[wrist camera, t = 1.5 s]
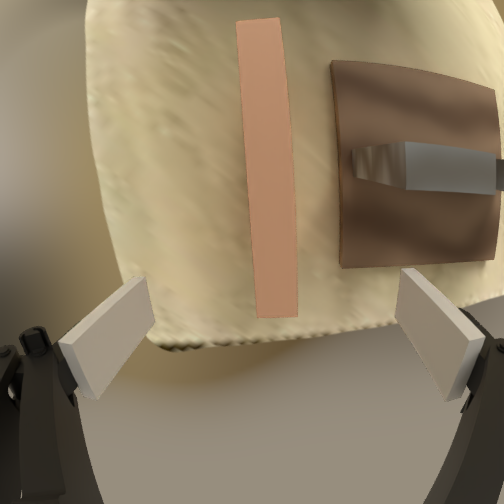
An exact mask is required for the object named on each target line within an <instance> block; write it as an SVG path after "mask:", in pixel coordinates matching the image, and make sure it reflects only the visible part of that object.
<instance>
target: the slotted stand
mask: <svg viewBox="0 0 504 504" xmlns="http://www.w3.org/2000/svg"><path fill="white" fill-rule="evenodd" d="M330 69H331V77H332V85H333V95H334V104H335V115H336V127H337V142H338V159H339V185H340V260H339V264H340V265H341V267H342V269H343V268H366V267H386V266H405V265H423V264H439V263H455V262H470V261H484V260H494V257H495V251H496V244H497V237H498V228H499V218H500V205H501V191H504V160H503V159H501V141H500V128H499V118H498V110H497V103H496V96H495V90H493V89H490V88H487V87H484V86H481V85H478V84H475V83H472V82H468V81H465V80H461V79H457V78H454V77H450V76H446V75H441V74H437V73H433V72H428V71H423V70H418V69H412V68H406V67H400V66H393V65H386V64H378V63H368V62H357V61H341V60H332V62H331V64H330Z"/></svg>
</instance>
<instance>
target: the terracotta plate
mask: <svg viewBox="0 0 504 504" xmlns="http://www.w3.org/2000/svg"><path fill="white" fill-rule="evenodd" d="M236 33H237V47H238V61H239V75H240V89H241V102H242V116H243V130H244V144H245V158H246V171H247V185H248V199H249V213H250V227H251V241H252V255H253V268H254V282H255V296H256V310H257V318H276V317H298V287H297V236H296V208H295V186H294V167H293V151H292V136H291V123H290V110H289V99H288V88H287V77H286V68H285V58H284V49H283V41H282V32H281V24H280V18H263V19H251V20H242V21H236Z"/></svg>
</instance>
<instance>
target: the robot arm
mask: <svg viewBox="0 0 504 504" xmlns="http://www.w3.org/2000/svg"><path fill="white" fill-rule="evenodd" d="M395 318H396V320H397V321H398V323H399V325H400V326H401V328H402V329H403V331H404V332H405V334H406V336H407V337H408V339H409V340H410V342H411V344H412V345H413V347H414V349H415V350H416V352H417V353H418V355H419V357H420V358H421V360H422V362H423V363H424V365H425V367H426V369H427V370H428V372H429V374H430V376H431V377H432V379H433V381H434V383H435V384H436V386H437V388H438V390H439V392H440V394H441V395H442V397H443V399H444V401H445V402H447V401H451V400H454V399H457V398H461V396H462V394H463V392H464V390H465V387H466V385H467V387H468V388H469V390H470V391H471V392H470V395H469V396H468V398H467V400H466V402H465V404H464V406H463V408H462V410H461V412H460V413H463V414H462V417H461V420H460V423H459V426H458V429H457V432H456V435H455V437H454V440H453V442H452V445H451V447H450V450H449V452H448V455H447V457H446V459H445V461H444V464H443V466H442V468H441V470H440V473H439V474H438V477H437V478H436V481H435V483H434V484H433V487H432V488H431V491H430V492H429V494H428V496H427V498H426V499H425V501H424V503H423V504H497V500H498V498H499V495H500V491H501V488H502V485H503V481H504V339H502V338H499V339H494V338H493V337H492V336H491V334H490V333H489V332H488V331H486V329H485V328H484V327H482V325H480V324H479V322H477V320H475V318H474V317H473V316H472V315H471V314H470V313H468V312H466V311H465V310H463V309H461V308H457V307H456V306H455V305H454V304H453V303H452V302H451V301H450V300H449V299H448V298H447V297H446V296H444V295H443V294H442V293H441V292H440V291H439V290H438V289H437V288H436V287H435V286H434V285H433V284H432V283H430V282H429V281H428V280H427V279H426V278H425V277H424V276H423V275H422V274H420V273H419V272H418V271H417V270H416V269H415V268H403V269H401V274H400V283H399V291H398V298H397V305H396V311H395ZM154 323H155V318H154V314H153V310H152V305H151V301H150V296H149V291H148V287H147V282H146V277H132V278H131V279H130V280H129V281H127V282H126V283H125V284H124V285H123V286H121V287H120V288H119V289H118V290H117V291H115V292H114V293H113V294H112V295H111V296H109V297H108V298H107V299H106V300H105V301H103V302H102V303H101V304H100V305H99V306H98V307H96V308H95V309H94V310H93V311H92V312H91V313H89V314H88V315H87V316H86V317H85V318H84V319H83V320H81V321H79V322H78V323H77V324H76V325H74V327H73V328H71V329H70V330H69V331H68V333H65V334H64V335H63V336H62V337H61V338H60V339H59V340H58V341H57V342H55V343H54V344H53V345H51V342H50V340H49V337H48V335H47V332H46V330H45V328H44V327H40V326H37V327H32V328H29V329H27V330H25V331H24V332H23V333H21V334H20V336H19V340H20V343H21V345H22V347H23V349H24V352H25V354H26V355H25V356H23V355H19V353H18V351H17V349H16V347H15V346H14V345H8V346H6V345H5V346H3V347H1V348H0V504H104V503H103V500H102V497H101V494H100V491H99V489H98V485H97V482H96V479H95V476H94V473H93V469H92V466H91V462H90V459H89V455H88V451H87V447H86V443H85V438H84V434H83V429H82V425H81V419H80V414H79V409H78V402H77V397H76V395H75V394H74V390H75V389H76V388H77V386H78V388H79V389H80V391H81V393H82V395H83V397H86V398H89V399H93V400H96V401H97V400H98V399H99V398H100V396H101V395H102V393H103V392H104V391H105V389H106V388H107V386H108V385H109V384H110V382H111V381H112V379H113V378H114V377H115V375H116V374H117V373H118V371H119V370H120V369H121V367H122V366H123V364H124V363H125V362H126V360H127V359H128V358H129V356H130V355H131V354H132V352H133V351H134V350H135V348H136V347H137V346H138V344H139V343H140V341H141V340H142V339H143V338H144V336H145V335H146V334H147V332H148V331H149V330H150V328H151V327H152V326H153V325H154ZM8 387H9V388H10V389H11V391H12V393H13V395H14V396H13V398H11V397H10V396H9V394H8ZM21 489H22V498H20V497H21Z"/></svg>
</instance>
